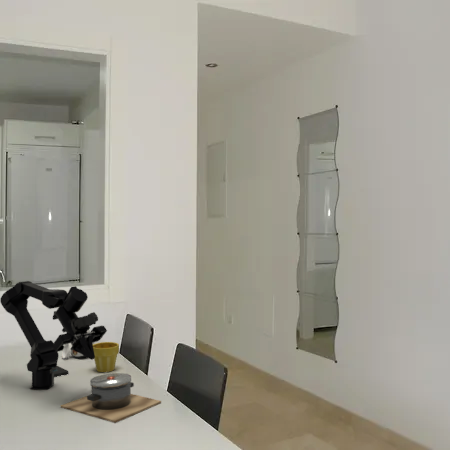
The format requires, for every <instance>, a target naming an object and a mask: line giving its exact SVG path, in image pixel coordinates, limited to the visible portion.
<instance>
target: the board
mask: <svg viewBox="0 0 450 450" xmlns="http://www.w3.org/2000/svg"><path fill="white" fill-rule="evenodd" d="M160 404H162V400H158V399H154V398H151V397H150V398H149V397H147V396H142V395H137V394H133V393H131V403H130V404H129V405H128V406H126V407H123V408H119V409H114V410H100V409H96V408H94V407H92V401H91V400H87V395H85V396H83V397H80V398H78V399H75V400H72V401H68V402H67V403H66V402H65V403H63V404H61V405H60V408H62V409H64V410H65V409H66V410H69V411H73V412H76V413H78V414H79V413H80V414H82V415H87V416H90V417H93V418H97V419H101V420H105V421H106V422H107V421H108V422H111V423H114V424H116V423H118V422H120V421H123V420H125V419H128V418H130V417H132V416H135V415H136V414H139V413H142V412H144V411H146V410H148V409H151V408H154V407H155V406H158V405H160Z"/></svg>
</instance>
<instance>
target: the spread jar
mask: <svg viewBox="0 0 450 450" xmlns="http://www.w3.org/2000/svg"><path fill="white" fill-rule="evenodd" d="M89 332H91V328H90V329H89V330H87V333H89ZM93 344H95V342H93ZM63 346H64V349H63V350H62V351H61V357H62V359H66V360H67V359H69V357H70V356H72V357H73V359H78V360H81V359H89V358H88V357H86V356H84V355H82V354H81V353H79V352H76V351H74V350H71V347H72V344H71V343H69V344H65V345H63Z"/></svg>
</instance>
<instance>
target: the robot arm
mask: <svg viewBox="0 0 450 450" xmlns="http://www.w3.org/2000/svg"><path fill="white" fill-rule="evenodd" d="M30 298H33V299H35V300H38V301H40V302H42V303H41V304H42V305H43V306H44V307H46V308H47V309H49V310H52V309H56V310H54V311H53V315H52V320H53V321H54V320H58V321H59V322H60V324H61V325H62V327H63V328H62V329H61V331H62V333H61V334H59V335H58V336H57V338H56V339H55V340H54V342H53V340H46V339H44V336H43V334H42V333H41V331H40V329H39V327H38V326H37V324H36V322H35V321H34V319H33V317H32V315H31V313H30V311H29V310H28V304H29V301H28V299H30ZM87 300H88V295H87V292H85V291H84V290H82V289H81V288H78V287H77V286H70V288H69V290H68V291H66V290H65V289H57V288H56V289H52V288H51V289H50V288H47V287H44V286H42V285H38V284H37V283H34V282H32V281H29V280H26V281H19V282H17V283H15V285H14V286H12V287H11V288H9V289H7V290H6V291H5V292H4V293H3V294H2V296H1V297H0V304H1V306H2V307H3V309H4V310H5V312H6V313H8V314H10V315H12V316H13V317H14V318H15V321H16V322H17V324H18V326H19V327H20V329H21V331H22V333H23V335H24V336H25V339H26V340H27V343H28V344H29V346H30V355H29V356H30V359H29V361H28V363H26V368H27V372H31V387H30V390H49V389H51V387H53V385H54V384H55V377H54V372H52V368H55V367H56V366H58V362H59V361H58V360H59V356H60V355H59V352H62V351H63V349H64V345H65V344H69V343H71V344H72V347H71V350H74V351H76V352H79V353H81V354H82V355H84V356H86V357H88V358H87V359H89V360H90V361H93V360H94V358H95V355H94V349H93V342H94V343H98V342H99V341H101V339H102V338H103V337H104V335H105V334H106V333H107V331H108V330H107V328H106V326H105V325H101V324H100V325H98V326H93V325H96V324H97V322H98V321H99V317H98V314H97V313H96V312H94V311H93V312H90V313H88V314H87V315H83V316H78V314H77V313H78V312H80V310H81V309H82V307H83V306H84V304H86V303H87ZM91 326H93V328H92V329H91ZM89 329H90V332H89V333H87V330H89Z"/></svg>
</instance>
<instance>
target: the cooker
mask: <svg viewBox="0 0 450 450" xmlns="http://www.w3.org/2000/svg"><path fill="white" fill-rule="evenodd" d="M134 386H135V383H134V382H132V381H131V382H130V383H128V384H126V385H122V386H118V387H112V388H96V387H92V386H91V394H87V395H86V396H87V400H91V401H92V407H94V408H96V409H100V410H114V409H119V408H123V407H126V406H128V405H129V404H130V403H131V394H132V393H131V388H133V387H134Z"/></svg>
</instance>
